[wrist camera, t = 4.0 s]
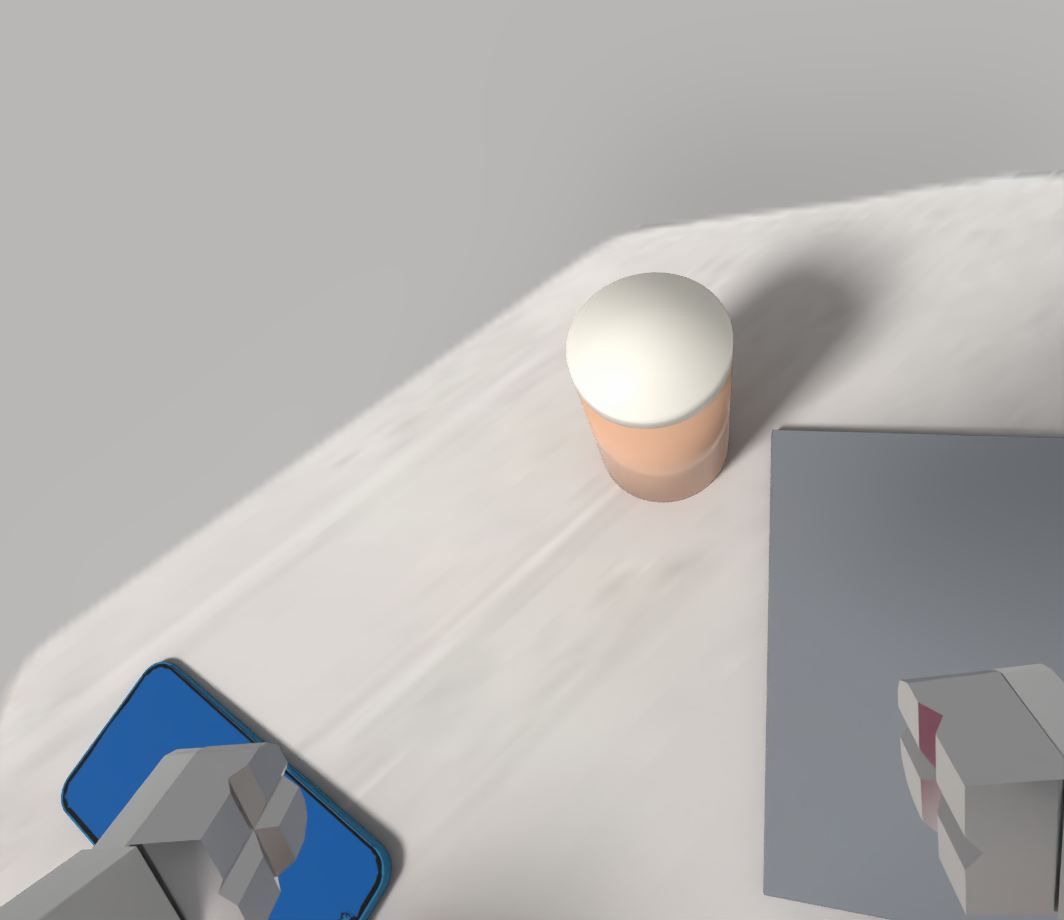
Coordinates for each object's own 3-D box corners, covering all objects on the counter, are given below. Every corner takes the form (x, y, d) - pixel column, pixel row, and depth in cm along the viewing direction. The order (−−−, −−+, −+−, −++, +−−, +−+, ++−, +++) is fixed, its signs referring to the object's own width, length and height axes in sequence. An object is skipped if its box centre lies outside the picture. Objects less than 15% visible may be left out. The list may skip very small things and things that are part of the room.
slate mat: (1150, 966, 21) (1162, 972, 20) (763, 891, 24) (764, 895, 23) (1072, 444, 27) (1080, 438, 26) (771, 435, 30) (772, 429, 29)
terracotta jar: (725, 505, 29) (730, 418, 22) (595, 498, 31) (556, 414, 23) (730, 388, 31) (735, 270, 24) (607, 386, 33) (575, 274, 25)
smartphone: (158, 651, 33) (395, 862, 26) (173, 654, 33) (406, 859, 27) (51, 799, 31) (276, 1059, 25) (69, 798, 32) (291, 1050, 26)
